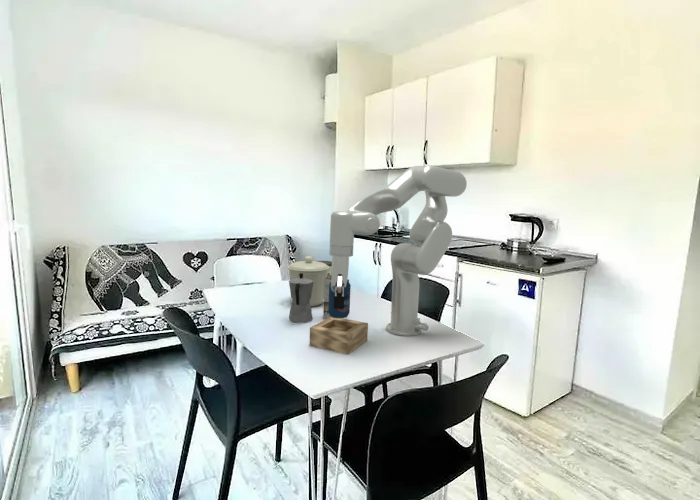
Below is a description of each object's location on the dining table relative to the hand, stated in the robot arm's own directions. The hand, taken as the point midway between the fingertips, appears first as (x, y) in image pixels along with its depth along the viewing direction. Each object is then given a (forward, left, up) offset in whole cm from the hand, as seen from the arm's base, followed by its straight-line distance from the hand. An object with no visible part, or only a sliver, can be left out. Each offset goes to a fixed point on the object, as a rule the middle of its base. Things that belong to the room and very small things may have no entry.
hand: (339, 304), depth 134 cm
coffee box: (+15, -23, -13) cm, 31 cm away
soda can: (0, 0, -4) cm, 4 cm away
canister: (+34, -34, -13) cm, 50 cm away
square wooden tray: (0, 0, -13) cm, 13 cm away
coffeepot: (+24, -13, -13) cm, 30 cm away
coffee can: (+41, -58, -13) cm, 72 cm away
